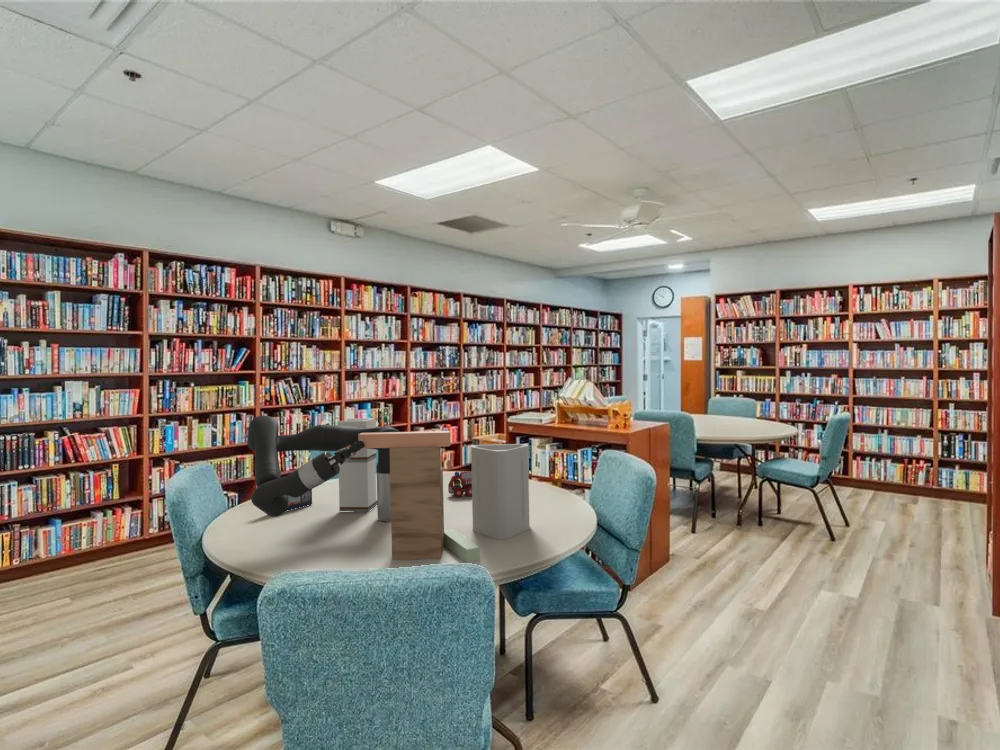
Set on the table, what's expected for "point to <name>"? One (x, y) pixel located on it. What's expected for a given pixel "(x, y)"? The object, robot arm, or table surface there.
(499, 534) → the grey triangular vase
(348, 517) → the table surface
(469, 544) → the sage peg
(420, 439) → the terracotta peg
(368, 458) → the banded white pillar
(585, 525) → the table surface
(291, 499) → the vhs cassette tape
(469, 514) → the table surface
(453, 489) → the toy fire truck
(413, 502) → the walnut stand
